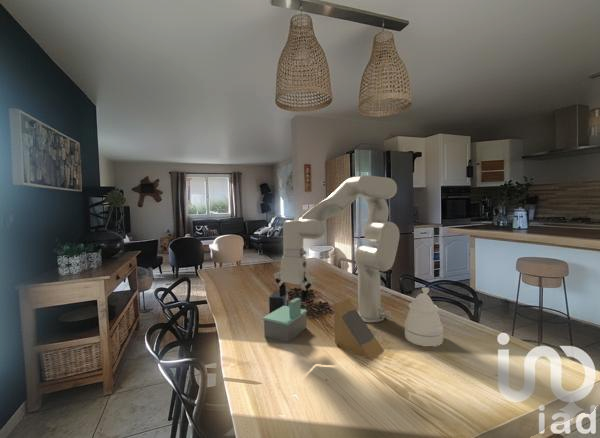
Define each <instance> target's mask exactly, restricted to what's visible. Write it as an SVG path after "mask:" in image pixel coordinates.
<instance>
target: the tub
mask: <svg viewBox="0 0 600 438" xmlns="http://www.w3.org/2000/svg"><path fill="white" fill-rule="evenodd" d="M263 326H264V327H263V329H264V330H263V331H264V334H263V335H264V337H266V338H270V339H273V340H278V341H281V342H285V343H289V342H291V341H292V340H293V339H294V338H296V337H297V336H299V335H300V334H301V333H302V332H303V331H305V330H306V329H307V312H306V313H305V314H304V315H302V316H301V317H299V318H298V319H296V320H295V321H293V322H292V323H291V324H289V325H284V324H280V323H275V322H271V321H267V320H263Z"/></svg>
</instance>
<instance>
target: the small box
mask: <svg viewBox="0 0 600 438" xmlns="http://www.w3.org/2000/svg"><path fill="white" fill-rule="evenodd" d="M268 299H269V300H268V303H269V305H268V308H269V313H268V314H270V313H272V312H273V311H275V310H277V309H279V308H280V307H282V306H289V291H288V290H286V295H285V296H283V297H280V293H279V289H277V290H274V291H273V292H272V293H271V295H269V296H268Z"/></svg>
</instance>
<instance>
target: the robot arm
mask: <svg viewBox="0 0 600 438" xmlns="http://www.w3.org/2000/svg"><path fill="white" fill-rule="evenodd" d="M397 192H398V186H397V183H396V181H395V180H394V179H392V178H390V177H384V176H375V175H366V174H365V175H357V176H350V177H349V178H346V179H345V180H344V181H343V182H342V183H341V184H340V185H339V186H338V187H337V188H336V189H335V190H333V192H332V193H331V194H330V195H329V196H328V197H326V198H325V199H323V200H321V201H320V202H319V203H317V204H315V205H314V206H313V207H311V208H310V209H309V210H307V211H306V212H305V213H304V214H303V215H302V216H301V217H300V218H299V219H289V220H285V221H283V225H282V228H283V232H282V233H283V234H282V236H283V245H282V247H283V248H282V250H283V251H282V252H283V253H282V254H283V255H282V257H281V261H280V269H279V271H277V272H275V273H273V277H274V279H275V282H276V283H277V286H278V287H279V288H278V290H279V293H280V297H283V296H285V295H286V291H287V288H286V287H287V285H286V284H293V285H299V286H300V287H301V288H302V290H301V301H302V302H305V301H307V300H308V298H309V289H310V288H311V287H312V286H313V284H314V282H315V278H314V277H313V276H311V275H310V274H309V272H308V271H309V270H308V269H309V268H308V264H307V259H306V256H305V255H306V254H307V251H306V250H305V249H304V239H305V240H306V239H307V240H309V239H310V240H318V239H321V238H322V237H323V236H324V235H325V232H326V226H325V224H324V223H323V222H324V221H326V220H327V219H331V218H334V217H337V216H339V215H340V214H343V213H344V212H345V211H346V210H347V209H348V208H349V206H351V204H352V203H353V202H354V201H356V200H357V199H358V198H364V199H365V200H366V202H367V205H368V212H367V213H368V214H367V218H366V222H365V226H364V231H363V237H364V239H365V240H366V241H368V242H370V243H373V244H374V243H375V244H377V245H371V244H363V245H360V246H359V247H358V248H357V249H356V251H355V256H354V258H355V263H356V268H357V269H356V271H357V299H358V302H357V304H358V305H357V306H358V307H357V309H358V310H356V311H357V312H358V314H359V315H360V316H361V318H362V319H363V321H364V322H365V323H372V324H375V323H379V322H382V321H384V320H385V317H386V318H389V319H390V318H392V314H391V312H390V310H384V309H383V308H384V307H383V306H381V305H382V302H381V294H382V293H381V292H382V291H381V274H380V272H387V271H389V270H390V269H391V268H392V267H393V265H394V262H395V260H396V255H397V251H398V248H399V247H398V246H399V241H400V237H401V236H400V234H401V233H400V230H399V227H398V226H397V224H396V223H394V222H392V221H388V220H389V219H388V218H389V213H390V212H389V206H388V205H389V204H388V203H387V201H386V200H389V199H391V198H393V197H395V195H396V194H397ZM307 282H308V283H307Z"/></svg>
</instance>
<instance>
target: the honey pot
mask: <svg viewBox="0 0 600 438" xmlns="http://www.w3.org/2000/svg"><path fill="white" fill-rule="evenodd" d="M421 291H422V292H420V293H419V294H417V295H416V297H415V298H414V299H413V301H412V302H410V303H409V304H408V308H409V311H407V315H406V319H405V320H404V337H405V340H407V341H408V342H410V343H412V344H414V345H417V346H420V345H421V347H426V346H434V347H438V346H437V345H439V346H441V345H442V344H443V343H442V342H444V327H443V324H442V322H441V321H442V320H441V319H440V318H441V317H440V315H439V313H438V311H439V307H438V306H437V305H436V304H434V302H433V300H432V298H431V297H430V296H429V295H428V293H430V288H429V287H421ZM440 344H441V345H440Z"/></svg>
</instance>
